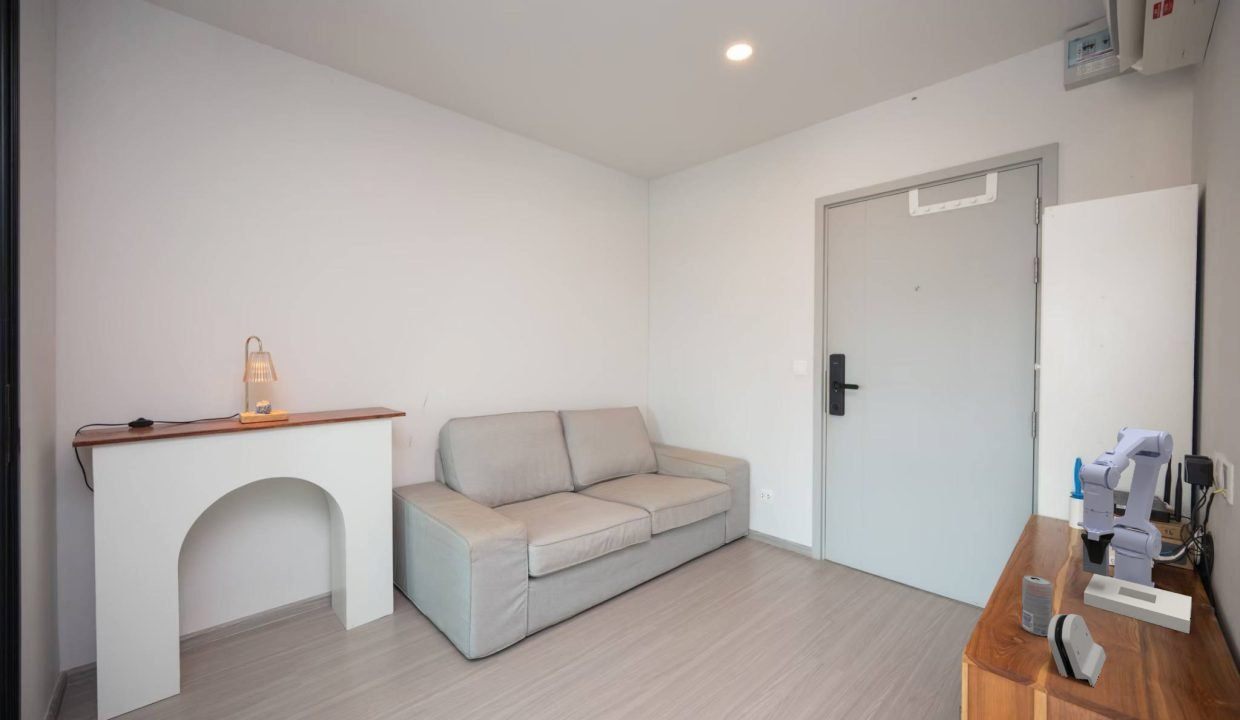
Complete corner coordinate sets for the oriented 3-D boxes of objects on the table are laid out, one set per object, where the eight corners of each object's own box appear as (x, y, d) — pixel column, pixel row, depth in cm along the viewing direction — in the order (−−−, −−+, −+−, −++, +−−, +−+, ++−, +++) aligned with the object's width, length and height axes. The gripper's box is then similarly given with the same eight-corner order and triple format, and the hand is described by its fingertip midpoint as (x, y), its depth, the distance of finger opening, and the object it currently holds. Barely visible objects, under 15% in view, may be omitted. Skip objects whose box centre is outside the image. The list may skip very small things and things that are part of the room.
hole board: (1094, 583, 141) (1094, 573, 141) (1191, 608, 127) (1191, 597, 127) (1083, 603, 129) (1084, 592, 129) (1189, 633, 115) (1189, 620, 115)
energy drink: (1045, 627, 118) (1045, 576, 118) (1056, 639, 113) (1057, 586, 113) (1017, 622, 120) (1018, 573, 119) (1027, 634, 115) (1028, 582, 114)
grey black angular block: (1094, 688, 96) (1071, 632, 98) (1063, 685, 99) (1042, 631, 102) (1106, 655, 107) (1085, 605, 109) (1078, 653, 110) (1058, 605, 113)
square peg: (1086, 566, 136) (1085, 537, 136) (1108, 571, 132) (1108, 541, 132) (1083, 570, 133) (1082, 541, 133) (1106, 576, 130) (1106, 545, 130)
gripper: (1082, 501, 140) (1082, 549, 140) (1072, 511, 131) (1071, 562, 131) (1118, 507, 135) (1117, 557, 135) (1110, 518, 125) (1109, 572, 126)
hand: (1097, 560), depth 133 cm, fingers closed on square peg, 4 cm apart
